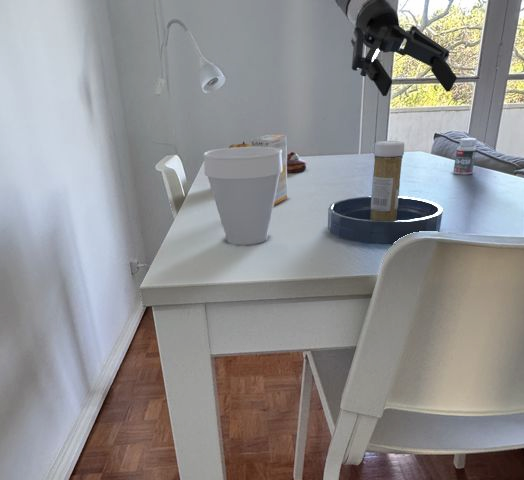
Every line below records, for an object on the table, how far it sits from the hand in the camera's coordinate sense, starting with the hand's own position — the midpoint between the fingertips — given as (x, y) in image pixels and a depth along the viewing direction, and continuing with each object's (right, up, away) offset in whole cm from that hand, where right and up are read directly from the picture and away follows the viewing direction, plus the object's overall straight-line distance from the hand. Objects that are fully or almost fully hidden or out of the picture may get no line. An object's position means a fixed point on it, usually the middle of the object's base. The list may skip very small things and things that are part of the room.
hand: (420, 86), depth 85 cm
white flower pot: (-31, -29, -5) cm, 43 cm away
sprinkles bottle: (-8, -27, -5) cm, 29 cm away
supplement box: (-27, -15, +18) cm, 36 cm away
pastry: (-19, +5, +53) cm, 57 cm away
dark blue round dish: (-8, -27, -5) cm, 29 cm away
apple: (-33, -3, +40) cm, 52 cm away
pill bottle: (+25, -1, +40) cm, 47 cm away
